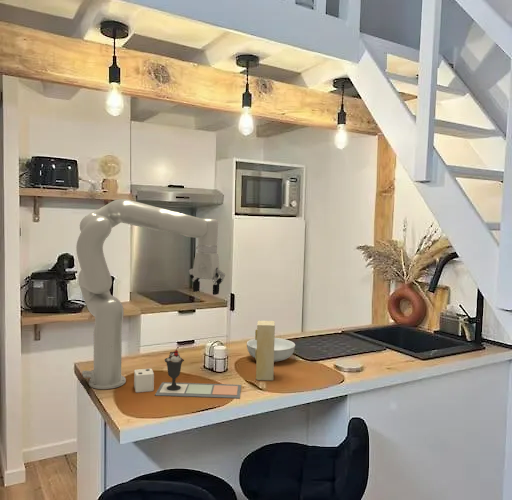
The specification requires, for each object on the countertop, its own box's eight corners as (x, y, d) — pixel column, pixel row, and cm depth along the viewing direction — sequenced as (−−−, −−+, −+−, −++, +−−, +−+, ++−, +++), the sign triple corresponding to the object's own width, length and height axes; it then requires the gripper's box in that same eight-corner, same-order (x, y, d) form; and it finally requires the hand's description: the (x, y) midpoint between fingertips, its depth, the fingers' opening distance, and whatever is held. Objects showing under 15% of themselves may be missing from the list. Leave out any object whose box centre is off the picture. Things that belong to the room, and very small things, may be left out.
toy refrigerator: (254, 373, 188) (256, 320, 186) (273, 373, 188) (275, 320, 186) (253, 380, 180) (255, 324, 178) (273, 380, 180) (275, 325, 178)
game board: (154, 395, 162) (154, 394, 162) (162, 382, 174) (162, 381, 174) (239, 398, 162) (239, 397, 162) (241, 385, 174) (241, 384, 174)
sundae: (179, 392, 164) (180, 349, 163) (161, 390, 166) (161, 347, 165) (186, 385, 171) (187, 344, 170) (168, 384, 172) (169, 342, 171)
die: (135, 392, 164) (136, 375, 164) (134, 386, 170) (134, 369, 169) (153, 390, 166) (153, 373, 166) (151, 384, 172) (151, 368, 171)
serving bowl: (304, 359, 207) (305, 343, 207) (272, 370, 192) (272, 353, 191) (268, 349, 221) (269, 334, 221) (235, 358, 206) (236, 342, 206)
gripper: (184, 248, 191) (182, 291, 193) (219, 252, 182) (217, 296, 183) (196, 248, 198) (194, 289, 199) (230, 251, 189) (229, 294, 190)
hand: (205, 292), depth 191 cm, fingers open, 9 cm apart
